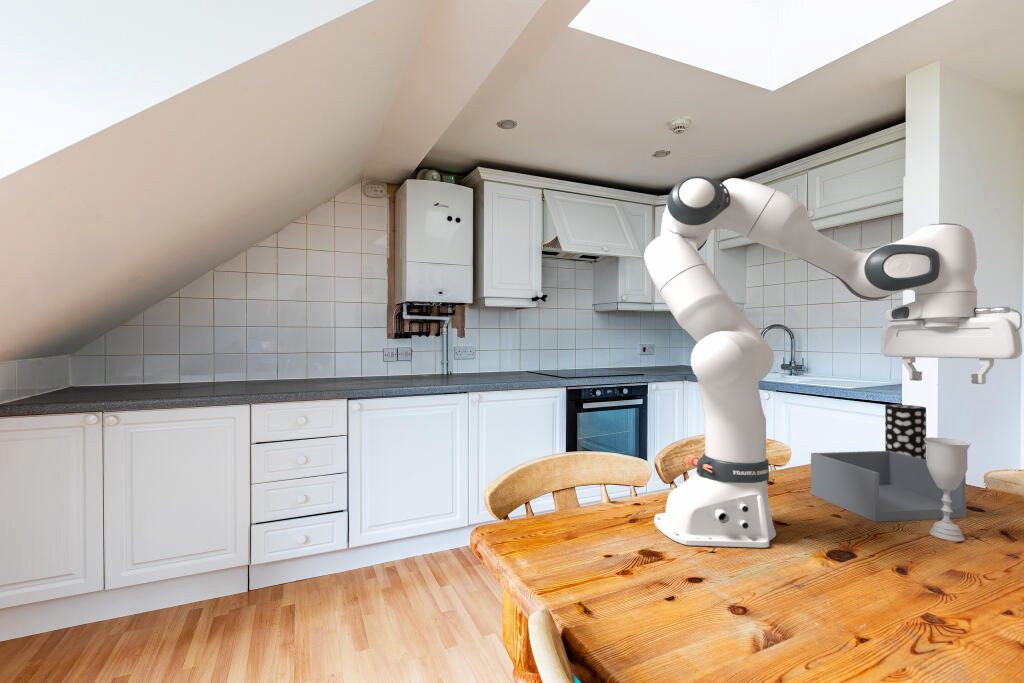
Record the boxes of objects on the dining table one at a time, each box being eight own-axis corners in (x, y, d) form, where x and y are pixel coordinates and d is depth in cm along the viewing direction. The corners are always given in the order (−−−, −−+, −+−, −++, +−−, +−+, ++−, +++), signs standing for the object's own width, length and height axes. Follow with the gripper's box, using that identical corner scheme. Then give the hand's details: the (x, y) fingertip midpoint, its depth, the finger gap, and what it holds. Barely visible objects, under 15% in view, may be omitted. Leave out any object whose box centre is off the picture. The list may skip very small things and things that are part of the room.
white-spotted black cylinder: (935, 487, 122) (935, 408, 122) (901, 487, 122) (901, 408, 122) (908, 478, 131) (908, 404, 131) (877, 478, 131) (877, 404, 131)
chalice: (974, 546, 87) (974, 446, 87) (924, 537, 91) (924, 442, 91) (968, 533, 93) (968, 440, 93) (921, 525, 97) (921, 436, 97)
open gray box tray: (874, 521, 99) (874, 473, 99) (810, 494, 117) (810, 453, 117) (965, 517, 101) (965, 469, 101) (889, 491, 119) (889, 450, 119)
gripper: (1028, 306, 85) (1029, 385, 85) (891, 313, 103) (892, 378, 102) (1014, 305, 82) (1015, 386, 81) (876, 312, 100) (877, 379, 99)
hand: (945, 382), depth 92 cm, fingers open, 8 cm apart
